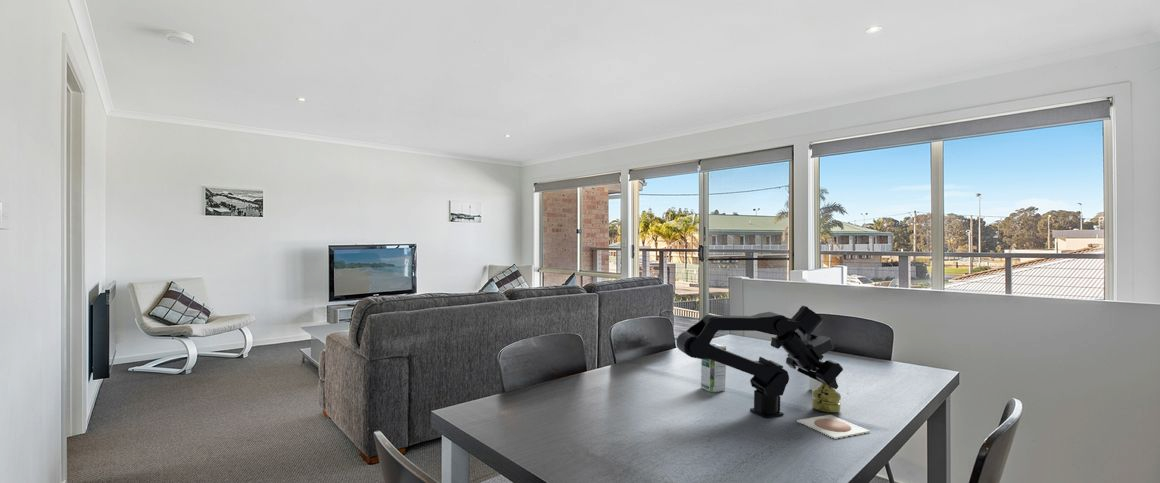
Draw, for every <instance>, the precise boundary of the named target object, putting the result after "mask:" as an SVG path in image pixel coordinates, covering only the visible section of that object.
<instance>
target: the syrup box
mask: <svg viewBox="0 0 1160 483" xmlns="http://www.w3.org/2000/svg"><path fill="white" fill-rule="evenodd" d="M710 344H711V345H713V346H715V347H718V348H721V349H723V350H726V351H727V345H722V344H719V343H716V342H710ZM700 360H701V362H700V364H701V366H700V367H701V368H700V369H701V370H700V374H701V375H700V388H701V389H703V390H705V391H707V392H710V393H718V392H723V391H726V375H727V371H726V368H727V365H724V364H722V363H719V362H716V361H714V360H710V359H700Z"/></svg>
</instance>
